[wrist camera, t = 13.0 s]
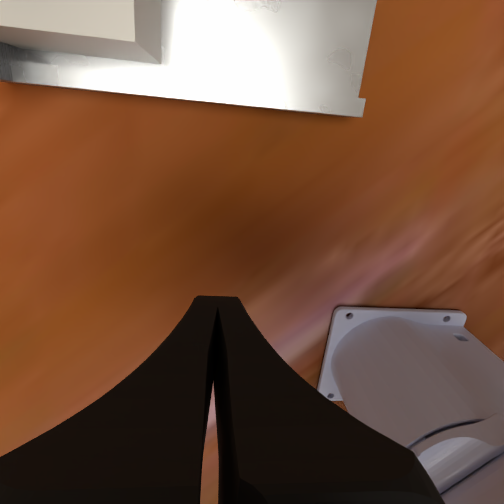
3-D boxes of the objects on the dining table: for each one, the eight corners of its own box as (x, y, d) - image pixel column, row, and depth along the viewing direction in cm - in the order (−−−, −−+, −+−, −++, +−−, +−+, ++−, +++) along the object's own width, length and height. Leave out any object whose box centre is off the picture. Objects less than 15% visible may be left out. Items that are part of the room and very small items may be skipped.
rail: (375, -42, 15) (445, -114, 10) (346, 117, 18) (392, 117, 13) (-26, -106, 13) (-165, -230, 9) (6, 82, 16) (-88, 68, 11)
